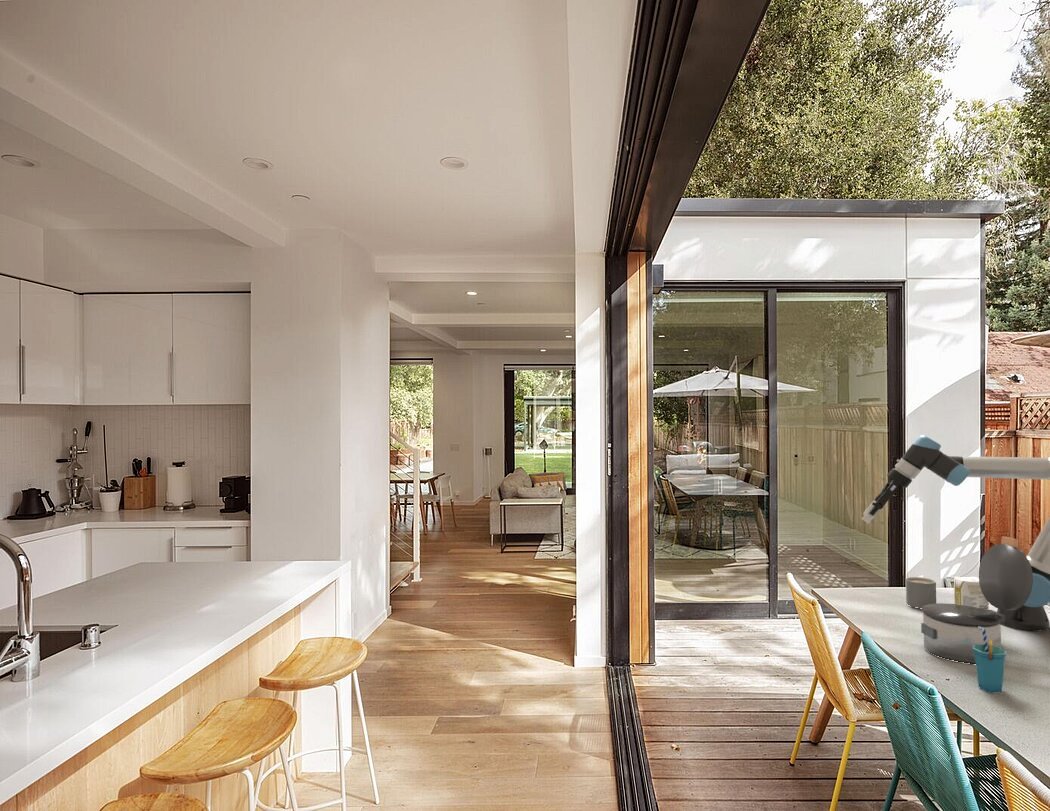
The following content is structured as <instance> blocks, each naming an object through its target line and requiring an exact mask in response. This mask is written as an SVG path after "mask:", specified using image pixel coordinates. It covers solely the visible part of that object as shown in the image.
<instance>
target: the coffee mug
mask: <svg viewBox="0 0 1050 811" xmlns="http://www.w3.org/2000/svg"><path fill="white" fill-rule="evenodd" d="M905 591H906V592H905V593H906V594H905V598H906V603H907V604H908V605H910V606H913V607H918V608H922V607H923V606H925V605H928V604H937V581H936V580H935V579H931V578H926V577H920V576H912V577H911V576H910V577H909V576H908V577H906V578H905ZM907 604H906V605H907Z"/></svg>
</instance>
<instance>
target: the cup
mask: <svg viewBox="0 0 1050 811" xmlns="http://www.w3.org/2000/svg"><path fill="white" fill-rule="evenodd" d="M978 629H980V630H982V633H983V641H984V645H974V647H973V652H974V654H975V661H976V665H975V667H976V675H977V677H976V678H977V684H978V688H979V687H980V688H979V689H981V690H983V691H984V690H985V691H984V692H989V691H990V693H993V692H999V693H1002V691H1003V682H1004V670H1005V658H1006V656H1007V650H1005V649H1003V648H1002V647H1001V648H999V647H995V646H992V641H991V640H990V645H987V637H986V631H985V628H982V627H980V626H979V627H978Z"/></svg>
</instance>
